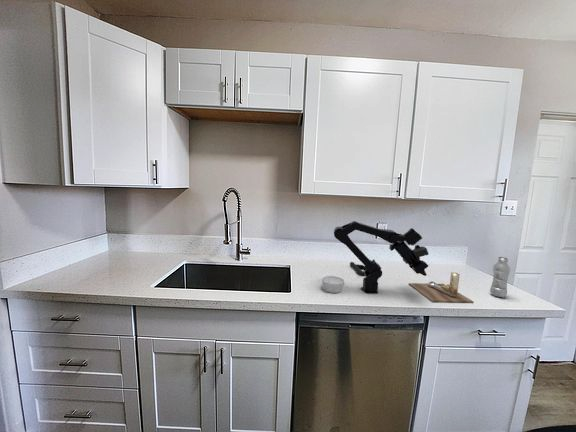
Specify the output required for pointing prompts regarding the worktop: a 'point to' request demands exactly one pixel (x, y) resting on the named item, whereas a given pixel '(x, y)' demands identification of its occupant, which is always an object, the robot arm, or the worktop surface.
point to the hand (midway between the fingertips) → (425, 275)
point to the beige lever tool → (452, 287)
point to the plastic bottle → (500, 278)
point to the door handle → (358, 268)
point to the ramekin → (332, 284)
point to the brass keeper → (445, 287)
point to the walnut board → (438, 294)
